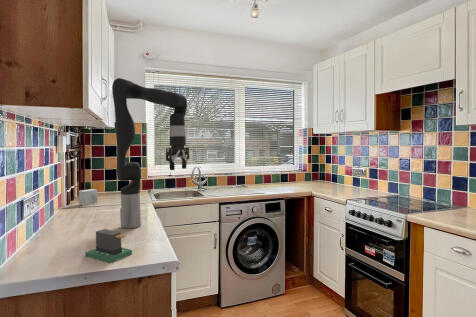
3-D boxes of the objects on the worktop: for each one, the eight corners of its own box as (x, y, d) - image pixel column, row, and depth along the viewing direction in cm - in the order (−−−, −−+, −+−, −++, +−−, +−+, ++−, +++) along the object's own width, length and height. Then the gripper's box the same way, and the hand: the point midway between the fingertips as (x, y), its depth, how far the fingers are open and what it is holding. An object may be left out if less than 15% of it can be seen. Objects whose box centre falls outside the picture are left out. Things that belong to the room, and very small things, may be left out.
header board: (85, 256, 112) (84, 240, 111) (108, 247, 120) (107, 233, 120) (109, 263, 105) (109, 246, 104) (132, 253, 114) (131, 238, 113)
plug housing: (96, 246, 113) (95, 231, 113) (105, 243, 116) (104, 228, 116) (119, 252, 107) (118, 236, 106) (127, 249, 110) (127, 233, 110)
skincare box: (83, 206, 203) (82, 191, 203) (79, 205, 207) (78, 190, 207) (98, 203, 211) (97, 189, 211) (93, 202, 215) (93, 188, 215)
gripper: (181, 136, 148) (181, 168, 149) (161, 135, 136) (161, 170, 137) (193, 135, 144) (193, 168, 145) (173, 135, 132) (174, 171, 133)
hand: (178, 169), depth 141 cm, fingers open, 8 cm apart
